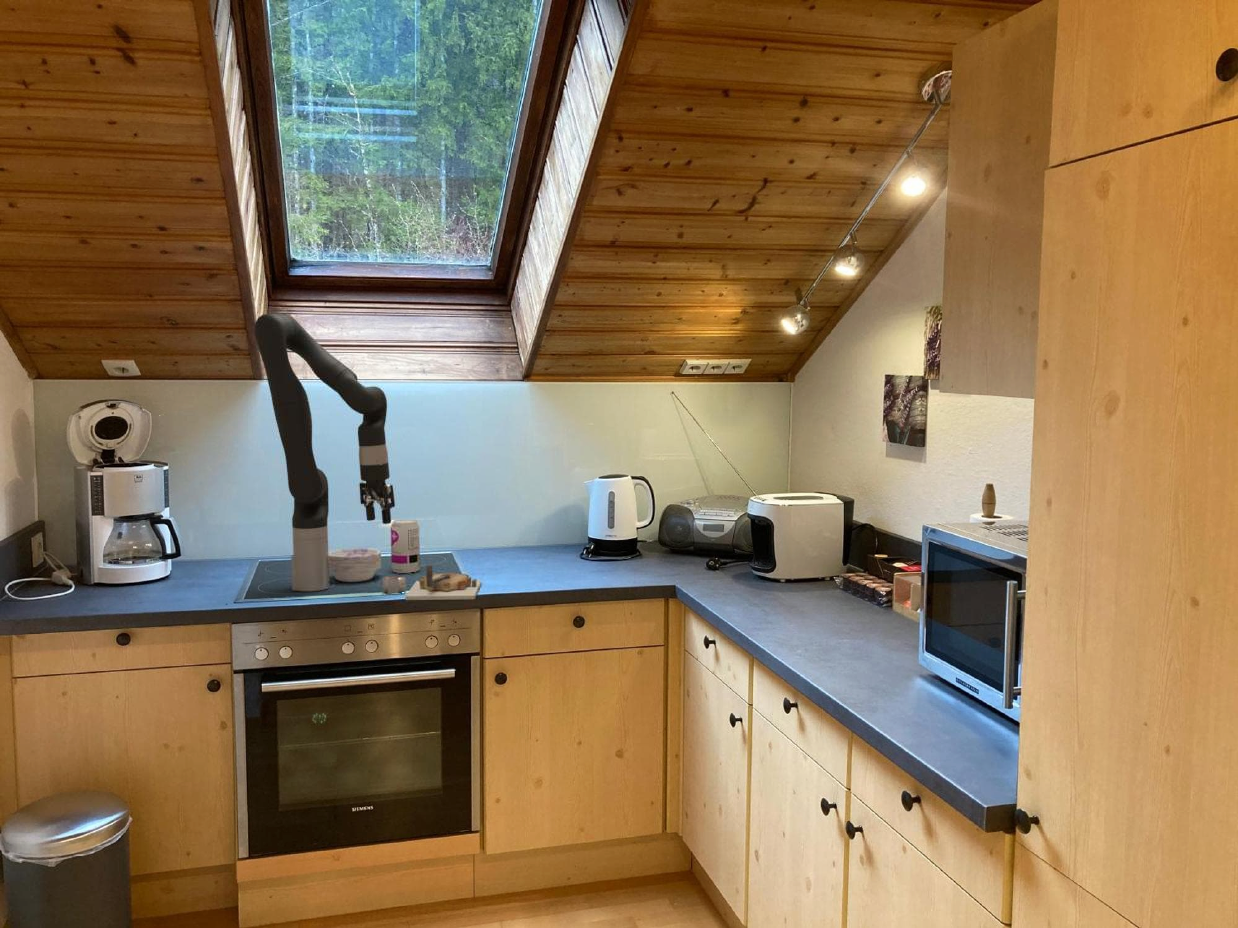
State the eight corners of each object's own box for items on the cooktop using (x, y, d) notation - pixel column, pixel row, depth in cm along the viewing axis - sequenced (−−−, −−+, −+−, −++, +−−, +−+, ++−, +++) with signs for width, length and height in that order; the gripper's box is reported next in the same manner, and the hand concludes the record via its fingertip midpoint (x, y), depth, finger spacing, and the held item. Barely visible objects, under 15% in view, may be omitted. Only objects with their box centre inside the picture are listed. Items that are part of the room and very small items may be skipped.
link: (404, 593, 276) (404, 578, 275) (382, 593, 276) (381, 578, 275) (406, 590, 279) (406, 575, 279) (384, 591, 279) (383, 576, 278)
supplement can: (394, 575, 300) (393, 524, 298) (389, 569, 307) (388, 520, 306) (422, 572, 303) (421, 522, 301) (416, 567, 310) (415, 518, 309)
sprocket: (415, 593, 270) (414, 566, 270) (424, 580, 286) (423, 554, 286) (467, 592, 271) (467, 565, 270) (473, 579, 287) (473, 554, 286)
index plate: (405, 600, 268) (405, 590, 268) (416, 584, 287) (416, 575, 287) (474, 599, 269) (474, 589, 268) (481, 583, 288) (481, 574, 287)
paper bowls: (371, 571, 305) (370, 545, 304) (389, 580, 292) (388, 553, 292) (320, 577, 297) (319, 550, 296) (336, 587, 284) (335, 558, 283)
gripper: (348, 462, 276) (353, 521, 278) (374, 465, 266) (379, 526, 268) (373, 459, 281) (378, 517, 283) (400, 461, 271) (405, 522, 272)
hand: (379, 521), depth 275 cm, fingers open, 8 cm apart
